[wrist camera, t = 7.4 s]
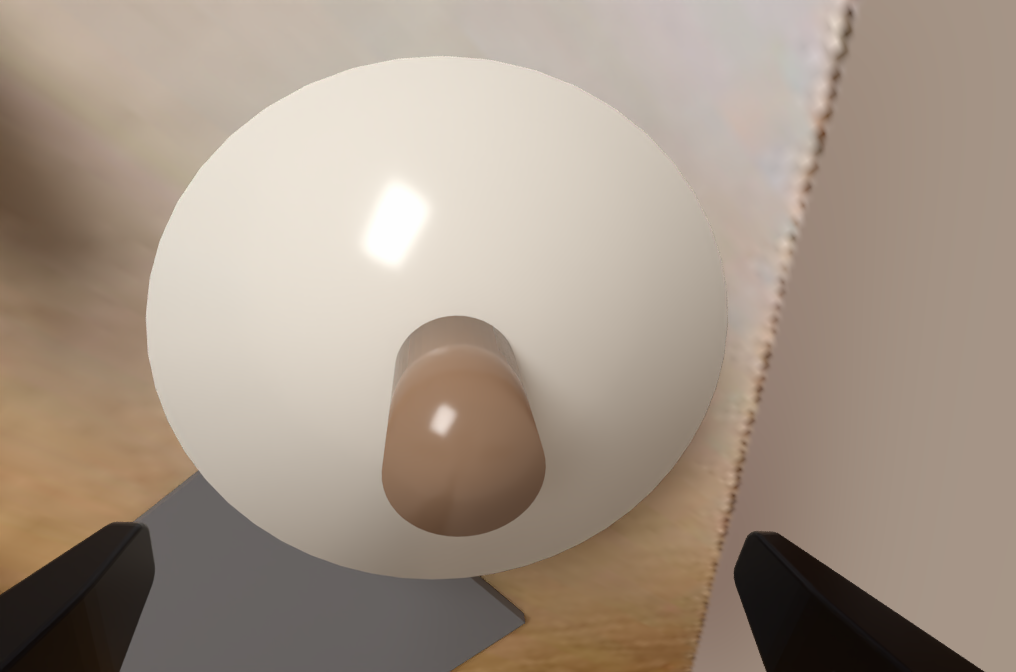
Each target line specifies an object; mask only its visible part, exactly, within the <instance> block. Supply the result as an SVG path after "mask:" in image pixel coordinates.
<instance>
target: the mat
mask: <svg viewBox="0 0 1016 672" xmlns="http://www.w3.org/2000/svg"><path fill="white" fill-rule="evenodd" d="M134 522H142V523H145V524H146V525H147V526H148V528H149V531H150V537H151V543H152V549H153V556H154V562H155V576H154V581H153V584H152V587H151V590H150V593H149V595H148V598H147V600H146V603H145V606H144V608H143V611H142V614H141V616H140V619H139V622H138V624H137V627H136V630H135V632H134V635H133V638H132V640H131V643H130V646H129V648H128V651H127V654H126V656H125V659H124V662H123V664H122V667H121V670H120V672H449V671H451V670H453V669H454V668H456V667H457V666H459V665H460V664H462V663H464V662H465V661H467V660H468V659H470V658H471V657H473V656H474V655H476V654H478V653H479V652H481V651H482V650H484V649H485V648H487V647H489V646H490V645H492V644H493V643H495V642H496V641H498V640H499V639H501V638H503V637H504V636H506V635H507V634H509V633H510V632H512V631H513V630H515V629H517V628H518V627H520V626H521V625H523V624H524V623H525V618H524V613H522V612H521V611H520V610H519V609H518V608H516V607H515V606H514V605H513V604H512V603H511V602H509V601H508V600H507V599H506V598H505V597H503V596H502V595H501V594H500V593H499V592H497V591H496V590H495V589H494V588H493V587H491V586H490V585H489V584H488V583H487V582H486V581H484V580H483V579H482V578H481V577H480V576H474V577H467V578H453V579H413V578H399V577H392V576H385V575H378V574H371V573H367V572H363V571H359V570H355V569H351V568H347V567H343V566H339V565H337V564H334V563H331V562H328V561H326V560H323V559H320V558H317V557H314V556H312V555H309V554H307V553H305V552H303V551H301V550H299V549H297V548H295V547H293V546H291V545H289V544H287V543H285V542H283V541H281V540H279V539H278V538H276V537H274V536H273V535H271V534H270V533H268V532H266V531H265V530H263V529H262V528H260V527H259V526H257V525H255V524H254V523H253V522H251V521H250V520H249V519H248V518H246V517H245V516H244V515H243V514H241V513H240V512H239V511H238V510H237V509H235V508H234V507H233V506H232V505H230V504H229V503H228V502H227V501H226V500H225V499H224V498H223V497H222V496H221V495H220V494H219V493H218V492H217V491H216V490H215V489H214V488H213V487H212V486H211V484H210V483H209V482H208V481H207V480H206V479H205V478H204V477H203V475H202V474H201V473H200V471H199V470H198V471H197V472H196V473H195V474H193V475H192V476H191V477H190V478H188V479H187V480H186V481H184V482H183V483H182V484H181V485H179V486H178V487H177V488H176V489H174V490H173V491H172V492H171V493H169V494H168V495H167V496H165V497H164V498H163V499H162V500H160V501H159V502H158V503H157V504H155V505H154V506H153V507H152V508H150V509H149V510H148V511H146V512H145V513H144V514H143V515H141V516H140V517H139V518H138V519H136V520H135V521H134Z"/></svg>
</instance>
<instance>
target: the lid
mask: <svg viewBox="0 0 1016 672" xmlns="http://www.w3.org/2000/svg"><path fill="white" fill-rule="evenodd" d="M727 326H728V321H727V290H726V284H725V278H724V272H723V266H722V260H721V256H720V253H719V250H718V247H717V244H716V241H715V238H714V235H713V231H712V228H711V225H710V223H709V221H708V219H707V217H706V215H705V213H704V211H703V209H702V207H701V205H700V203H699V201H698V199H697V197H696V195H695V193H694V191H693V190H692V188H691V187H690V186H689V184H688V183H687V181H686V180H685V178H684V177H683V175H682V174H681V173H680V171H679V170H678V168H677V167H676V165H675V164H674V162H673V161H672V160H671V159H670V158H669V157H668V156H667V155H666V154H665V153H664V152H663V151H662V150H661V148H660V147H659V146H658V145H657V144H656V143H655V142H654V141H653V140H652V139H651V138H650V137H649V136H648V135H647V134H646V133H645V132H644V131H643V130H642V129H640V128H639V127H638V126H636V125H635V124H634V123H633V122H631V121H630V120H629V119H628V118H626V117H625V116H624V115H622V114H621V113H620V112H619V111H617V110H616V109H615V108H614V107H612V106H610V105H608V104H607V103H605V102H603V101H601V100H600V99H598V98H596V97H594V96H593V95H591V94H589V93H587V92H586V91H584V90H582V89H580V88H579V87H577V86H575V85H572V84H570V83H567V82H564V81H562V80H559V79H557V78H554V77H552V76H549V75H547V74H544V73H541V72H539V71H536V70H533V69H529V68H524V67H520V66H516V65H511V64H507V63H503V62H498V61H494V60H488V59H476V58H464V57H452V56H434V57H418V58H402V59H394V60H389V61H384V62H380V63H375V64H370V65H366V66H361V67H356V68H351V69H348V70H346V71H343V72H340V73H338V74H335V75H332V76H330V77H327V78H324V79H322V80H319V81H316V82H314V83H311V84H308V85H306V86H304V87H302V88H301V89H299V90H297V91H295V92H293V93H292V94H290V95H288V96H286V97H284V98H283V99H281V100H279V101H277V102H275V103H274V104H272V105H270V106H268V107H267V108H265V109H264V110H263V111H261V112H260V113H259V114H257V115H256V116H255V117H254V118H252V119H251V120H250V121H249V122H247V123H246V124H245V125H243V126H242V127H241V128H240V129H238V130H237V131H236V132H234V133H233V134H232V135H231V136H230V137H229V138H228V139H227V140H226V141H225V142H224V143H223V144H222V145H221V146H220V147H219V148H218V150H217V151H216V152H215V153H214V154H213V155H212V156H211V157H210V158H209V159H208V160H207V161H206V162H205V163H204V165H203V166H202V167H201V168H200V169H199V171H198V172H197V174H196V175H195V177H194V178H193V180H192V181H191V183H190V184H189V186H188V187H187V189H186V190H185V192H184V193H183V195H182V196H181V198H180V199H179V201H178V202H177V204H176V206H175V208H174V211H173V213H172V215H171V217H170V219H169V222H168V224H167V226H166V228H165V230H164V233H163V235H162V237H161V239H160V242H159V246H158V250H157V253H156V257H155V261H154V264H153V268H152V272H151V275H150V281H149V290H148V300H147V310H146V328H147V346H148V356H149V360H150V365H151V370H152V374H153V379H154V384H155V388H156V391H157V394H158V396H159V399H160V401H161V404H162V407H163V409H164V412H165V415H166V417H167V420H168V422H169V424H170V426H171V428H172V429H173V431H174V433H175V435H176V437H177V439H178V440H179V442H180V444H181V446H182V448H183V449H184V451H185V453H186V454H187V455H188V457H189V458H190V459H191V461H192V462H193V463H194V465H195V466H196V467H197V469H198V470H199V471H200V473H201V474H202V475H203V477H204V478H205V479H206V480H207V481H208V482H209V483H210V484H211V486H212V487H213V488H214V489H215V490H216V491H217V492H218V493H219V494H220V495H221V496H222V497H223V498H224V499H225V500H226V501H227V502H228V503H229V504H230V505H232V506H233V507H234V508H235V509H237V510H238V511H239V512H240V513H241V514H243V515H244V516H245V517H246V518H248V519H249V520H250V521H251V522H253V523H254V524H255V525H257V526H259V527H260V528H262V529H263V530H265V531H266V532H268V533H270V534H271V535H273V536H274V537H276V538H278V539H279V540H281V541H283V542H285V543H287V544H289V545H291V546H293V547H295V548H297V549H299V550H301V551H303V552H305V553H307V554H309V555H312V556H314V557H317V558H320V559H323V560H326V561H328V562H331V563H334V564H337V565H339V566H343V567H347V568H351V569H355V570H359V571H363V572H367V573H371V574H378V575H385V576H392V577H399V578H413V579H453V578H467V577H474V576H481V575H488V574H495V573H499V572H503V571H507V570H511V569H515V568H519V567H523V566H526V565H529V564H532V563H535V562H538V561H541V560H544V559H546V558H549V557H552V556H555V555H557V554H559V553H561V552H563V551H565V550H568V549H570V548H572V547H574V546H576V545H578V544H580V543H582V542H584V541H586V540H587V539H589V538H591V537H592V536H594V535H596V534H598V533H599V532H601V531H603V530H604V529H606V528H607V527H609V526H610V525H612V524H613V523H614V522H616V521H617V520H618V519H620V518H621V517H622V516H624V515H625V514H627V513H628V512H629V511H631V510H632V509H633V508H634V507H635V506H636V505H637V504H638V503H639V502H641V501H642V500H643V499H644V498H645V497H646V496H647V495H648V494H649V493H650V492H652V491H653V490H654V488H655V487H656V486H657V485H658V484H659V483H660V482H661V481H662V479H663V478H664V477H665V476H666V475H667V474H668V473H669V472H670V470H671V469H672V468H673V467H674V465H675V464H676V463H677V461H678V460H679V458H680V457H681V456H682V454H683V453H684V451H685V450H686V448H687V447H688V446H689V444H690V443H691V441H692V439H693V437H694V435H695V434H696V432H697V430H698V428H699V426H700V424H701V422H702V421H703V419H704V417H705V415H706V412H707V410H708V407H709V404H710V402H711V399H712V397H713V394H714V392H715V389H716V386H717V382H718V378H719V374H720V370H721V366H722V363H723V359H724V352H725V343H726V334H727Z"/></svg>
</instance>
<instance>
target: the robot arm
mask: <svg viewBox="0 0 1016 672" xmlns="http://www.w3.org/2000/svg"><path fill="white" fill-rule="evenodd" d="M154 576H155V562H154V556H153V549H152V543H151V537H150V531H149V528H148V526H147V525H146V524H145V523H142V522H113V523H111V524H108V525H107V526H105V527H103V528H102V529H100V530H99V531H97V532H96V533H94V534H93V535H91V536H90V537H88V538H86V539H85V540H83V541H82V542H80V543H79V544H77V545H76V546H74V547H73V548H71V549H70V550H68V551H67V552H65V553H63V554H62V555H60V556H59V557H57V558H56V559H54V560H53V561H51V562H50V563H48V564H47V565H45V566H44V567H42V568H41V569H39V570H37V571H36V572H34V573H33V574H31V575H30V576H28V577H27V578H25V579H24V580H22V581H21V582H19V583H18V584H16V585H15V586H13V587H11V588H10V589H8V590H7V591H5V592H4V593H2V594H1V595H0V672H120V670H121V667H122V664H123V662H124V659H125V656H126V654H127V651H128V648H129V646H130V643H131V640H132V638H133V635H134V632H135V630H136V627H137V624H138V622H139V619H140V616H141V614H142V611H143V608H144V606H145V603H146V600H147V598H148V595H149V593H150V590H151V587H152V584H153V581H154ZM734 580H735V584H736V588H737V590H738V593H739V596H740V599H741V602H742V604H743V607H744V610H745V613H746V616H747V619H748V622H749V624H750V627H751V630H752V633H753V636H754V638H755V641H756V644H757V647H758V650H759V653H760V655H761V658H762V661H763V664H764V666H765V669H766V671H767V672H984V671H983V670H981V669H980V668H978V667H976V666H975V665H974V664H972V663H970V662H969V661H968V660H966V659H965V658H963V657H961V656H960V655H959V654H957V653H956V652H954V651H953V650H951V649H950V648H948V647H947V646H945V645H944V644H942V643H941V642H939V641H938V640H936V639H935V638H934V637H932V636H931V635H929V634H927V633H926V632H924V631H923V630H922V629H920V628H919V627H917V626H915V625H914V624H913V623H911V622H910V621H908V620H907V619H905V618H904V617H902V616H901V615H899V614H898V613H896V612H894V611H893V610H892V609H890V608H889V607H887V606H886V605H884V604H883V603H881V602H880V601H878V600H877V599H875V598H874V597H872V596H871V595H869V594H868V593H866V592H865V591H863V590H862V589H860V588H859V587H857V586H856V585H854V584H853V583H852V582H850V581H848V580H847V579H846V578H844V577H843V576H841V575H840V574H838V573H837V572H835V571H834V570H832V569H831V568H829V567H828V566H826V565H825V564H823V563H822V562H820V561H819V560H817V559H816V558H814V557H813V556H811V555H810V554H808V553H807V552H805V551H804V550H802V549H801V548H799V547H798V546H796V545H795V544H793V543H792V542H790V541H789V540H787V539H786V538H784V537H783V536H781V535H780V534H778V533H776V532H766V531H765V532H764V531H754V532H751V533H750V534H749V535H748V536H747V538H746V540H745V543H744V545H743V548H742V550H741V552H740V555H739V557H738V560H737V562H736V565H735V568H734Z"/></svg>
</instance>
